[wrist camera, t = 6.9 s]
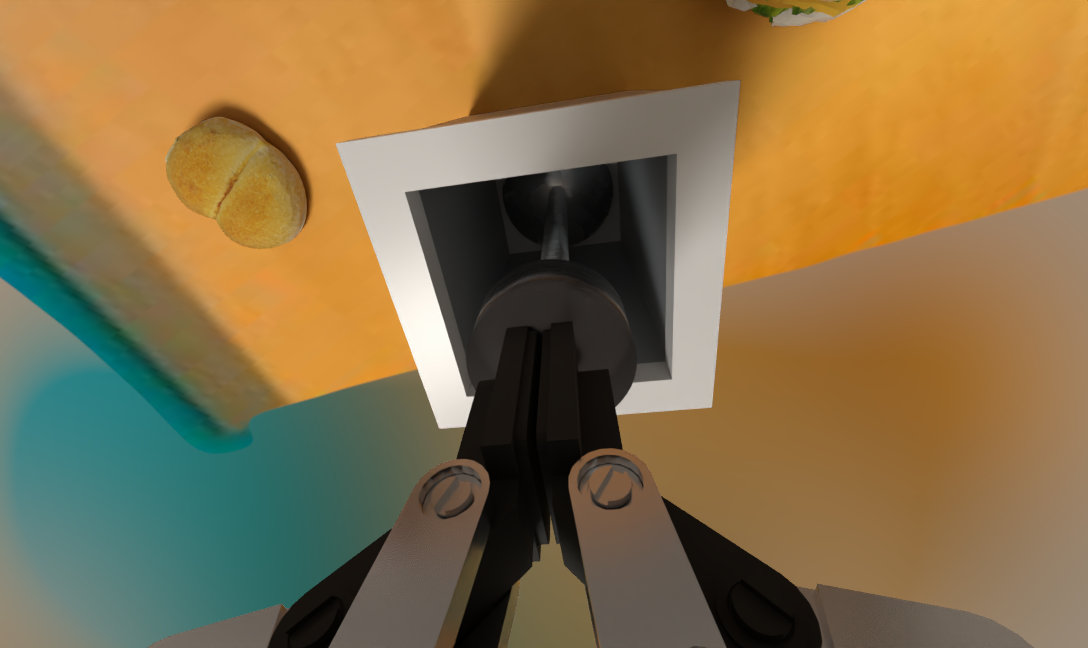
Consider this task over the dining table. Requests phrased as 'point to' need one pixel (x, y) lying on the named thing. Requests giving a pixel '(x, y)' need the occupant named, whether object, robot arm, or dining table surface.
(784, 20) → the burger
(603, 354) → the plunger
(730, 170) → the grey tall box
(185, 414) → the dining table surface
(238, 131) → the bread roll
